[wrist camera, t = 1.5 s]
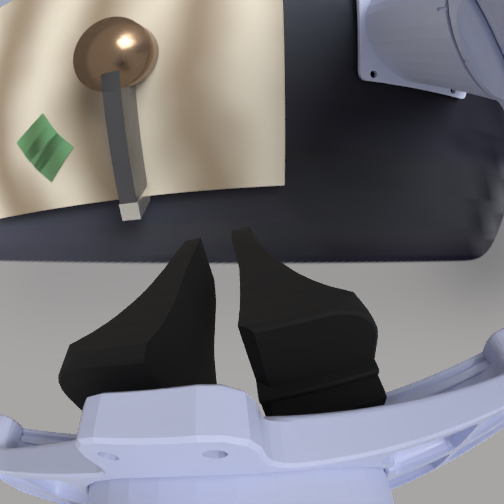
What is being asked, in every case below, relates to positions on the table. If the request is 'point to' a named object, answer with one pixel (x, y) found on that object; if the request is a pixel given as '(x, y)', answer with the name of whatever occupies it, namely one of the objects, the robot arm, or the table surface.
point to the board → (141, 101)
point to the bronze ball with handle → (120, 98)
